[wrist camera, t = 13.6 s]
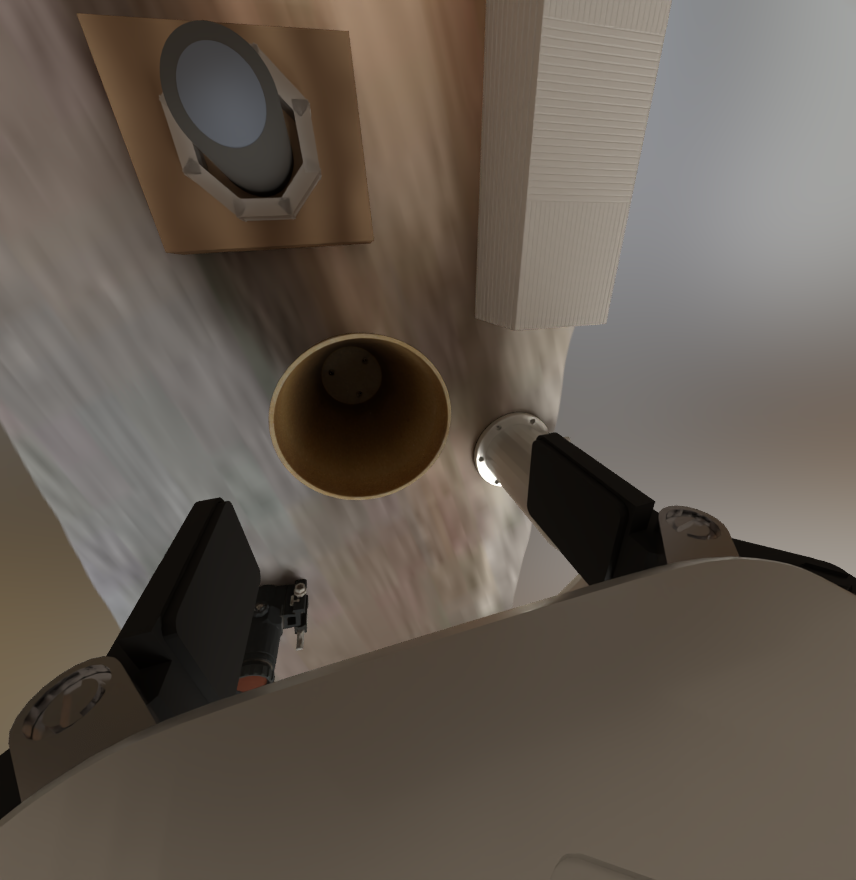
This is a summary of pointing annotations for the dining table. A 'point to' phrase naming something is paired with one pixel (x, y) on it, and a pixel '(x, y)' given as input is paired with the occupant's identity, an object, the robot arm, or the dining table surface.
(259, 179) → the lens
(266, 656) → the scope
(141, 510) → the dining table surface
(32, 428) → the dining table surface
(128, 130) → the wooden block
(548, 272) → the stack of papers
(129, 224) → the dining table surface
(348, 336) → the plant pot
